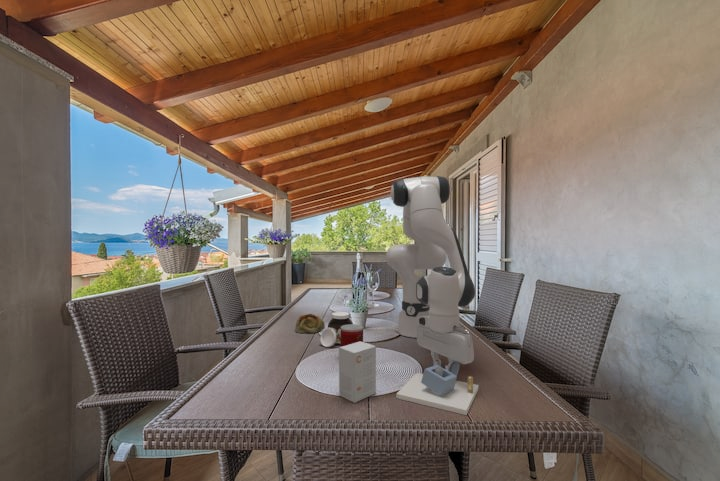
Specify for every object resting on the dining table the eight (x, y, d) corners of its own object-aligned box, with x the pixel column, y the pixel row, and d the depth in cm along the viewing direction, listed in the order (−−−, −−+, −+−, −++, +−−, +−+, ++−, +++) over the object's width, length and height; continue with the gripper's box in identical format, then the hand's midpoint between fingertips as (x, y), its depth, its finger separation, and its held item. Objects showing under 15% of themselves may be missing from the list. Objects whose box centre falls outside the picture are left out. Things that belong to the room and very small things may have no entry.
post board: (416, 376, 106) (416, 354, 106) (478, 389, 97) (478, 365, 97) (396, 398, 92) (396, 372, 92) (466, 415, 83) (466, 387, 83)
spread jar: (354, 340, 142) (354, 312, 141) (349, 349, 130) (349, 318, 130) (326, 339, 144) (326, 310, 144) (318, 347, 133) (318, 317, 132)
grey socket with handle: (444, 373, 103) (448, 357, 102) (463, 384, 98) (468, 368, 98) (420, 382, 94) (425, 365, 93) (441, 395, 89) (446, 377, 89)
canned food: (360, 363, 117) (360, 330, 116) (337, 361, 118) (337, 329, 118) (365, 355, 124) (365, 324, 124) (343, 354, 126) (343, 323, 126)
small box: (360, 386, 99) (360, 340, 99) (376, 393, 94) (376, 345, 94) (338, 395, 93) (338, 346, 93) (354, 403, 89) (354, 352, 89)
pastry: (299, 336, 149) (299, 317, 148) (291, 328, 160) (291, 311, 160) (330, 332, 155) (330, 314, 155) (320, 325, 166) (320, 308, 166)
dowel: (468, 390, 94) (468, 375, 94) (473, 391, 93) (473, 376, 93) (466, 392, 93) (467, 377, 93) (472, 393, 92) (472, 378, 92)
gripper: (479, 329, 96) (478, 379, 96) (428, 314, 113) (428, 356, 114) (463, 332, 93) (462, 384, 93) (413, 316, 110) (413, 360, 110)
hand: (443, 369), depth 103 cm, fingers open, 4 cm apart
